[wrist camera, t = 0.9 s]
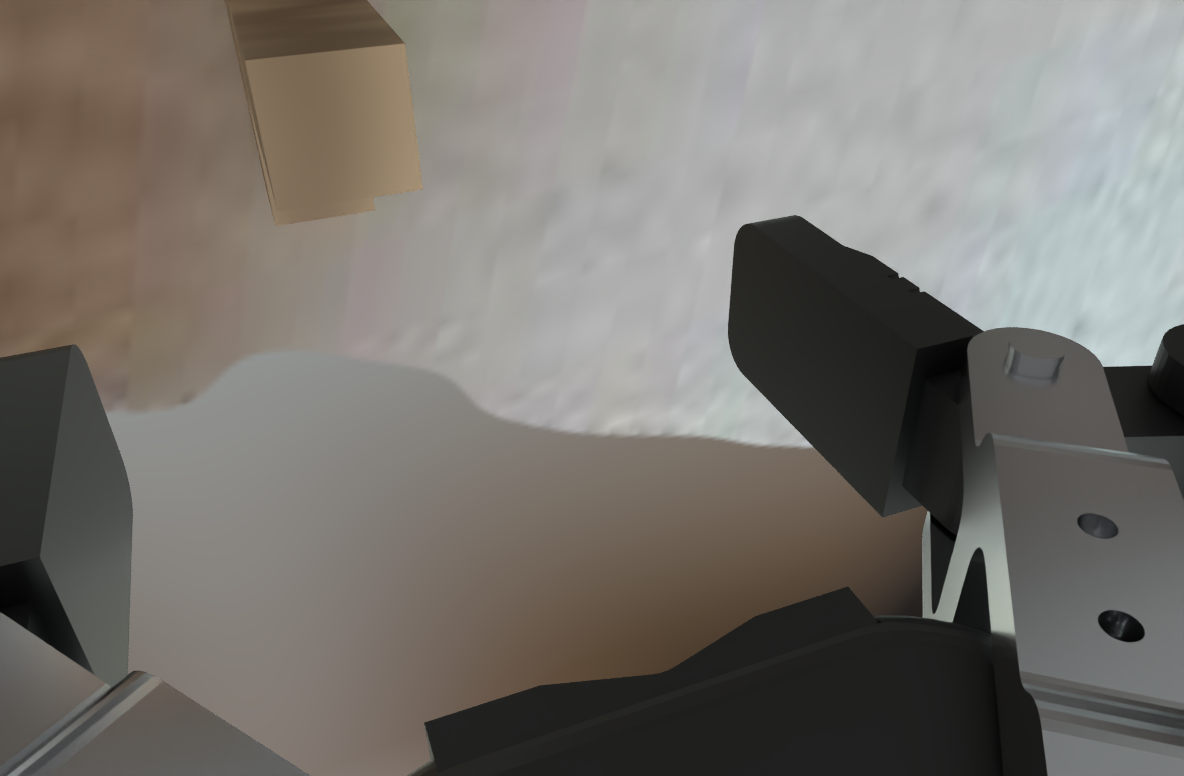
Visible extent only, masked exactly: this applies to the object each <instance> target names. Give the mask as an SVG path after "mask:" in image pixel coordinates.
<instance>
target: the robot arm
mask: <svg viewBox="0 0 1184 776" xmlns="http://www.w3.org/2000/svg"><path fill="white" fill-rule="evenodd" d="M728 338H729V345H730V349H731V353H732V356H733V358H734V361H735V363H736V365H737V367H738V368H739V370H740V371H741V372H742V374H743V375H744V376H745V377H746V378H747V379H748V380H749V381H750V382H751V383H752V384H753V385H754V386H755V387H756V388H757V389H758V390H759V391H760V392H761V393H762V394H763V395H764V396H765V397H766V398H767V399H768V400H769V401H770V403H771V404H772V405H773V406H774V407H775V408H776V409H777V410H778V411H779V412H780V413H781V414H782V415H783V416H784V417H785V418H786V419H787V420H788V421H789V422H790V423H791V424H792V425H793V426H794V427H795V428H796V429H797V430H798V431H799V432H800V433H801V434H802V435H803V436H804V437H805V438H806V439H807V441H808V442H809V443H810V444H811V445H812V446H813V447H814V448H815V449H816V450H817V451H818V452H819V453H820V454H821V455H822V456H823V457H824V458H825V459H826V460H827V461H828V462H829V463H830V464H831V465H832V466H833V467H834V468H835V469H836V470H837V471H838V472H839V473H840V474H841V475H842V476H843V477H844V479H845V480H847V482H849V484H850V485H851V486H852V487H853V488H854V489H855V490H856V491H857V492H858V493H859V494H860V495H861V496H862V497H863V498H864V499H865V500H866V501H867V502H868V503H869V504H870V505H871V506H872V507H873V508H874V509H875V510H876V511H877V512H878V513H879V514H880V515H881V516H882V517H886V516H889V515H892V514H896V513H899V512H902V511H905V510H909V509H912V508H915V507H919V506H923V507H925V508H926V509H927V510H928V513H927V517H926V521H925V525H924V529H923V536H922V538H923V539H922V541H923V542H922V548H923V549H922V551H923V618H921V617H912V616H873V615H872V614H871V613H870V612H869V611H868V610H867V609H866V607H865V606H864V605H863V604H862V603H861V601H860V600H859V599H858V598H857V597H856V595H855V594H854V593H853V592H852V591H851V590H850V588H849V587H845V588H842V589H839V590H836V591H833V592H830V593H826V594H823V595H821V596H817V597H814V598H811V599H808V600H805V601H802V602H798V603H795V604H792V605H789V606H786V607H783V608H780V609H777V610H774V611H771V612H768V613H764V614H761V615H758V616H755V617H753V618H752V619H750V620H749V621H747V622H745V623H744V624H742V625H741V626H739V627H737V628H736V629H734V630H733V631H731V632H729V633H728V634H726V635H725V636H723V637H722V638H720V639H718V640H717V641H715V642H714V643H712V644H710V645H709V646H707V647H706V648H704V649H703V650H701V651H699V652H698V653H696V654H695V655H693V656H691V657H690V658H688V659H687V660H685V661H684V662H682V663H680V664H679V665H677V666H675V667H674V668H672V669H670V670H668V671H665V672H662V673H658V674H653V675H643V676H632V677H623V678H612V679H602V680H591V681H582V682H571V683H561V684H551V685H541V686H537V687H534V688H531V689H528V690H525V691H522V692H519V693H515V694H512V695H509V696H506V697H503V698H500V699H497V700H494V701H490V702H487V703H484V704H481V705H478V706H475V707H472V708H469V709H466V710H463V711H459V712H457V713H453V714H450V715H447V716H444V717H441V718H438V719H434V720H431V721H428V722H425V723H424V724H425V730H426V736H427V741H428V747H429V752H430V758H431V761H430V762H428V763H426V764H425V765H423V766H422V767H420V768H418V769H417V770H415V771H414V772H412V773H410V774H409V775H408V776H1184V324H1183V325H1179V326H1176V327H1174V328H1172V329H1170V330H1168V331H1167V332H1166V333H1165V334H1164V336H1163V339H1162V341H1161V344H1160V347H1159V349H1158V352H1157V355H1156V357H1155V360H1154V363H1153V366H1123V367H1103V366H1102V364H1101V362H1100V361H1099V360H1098V358H1097V357H1096V356H1095V355H1094V354H1093V353H1092V352H1090V351H1089V350H1088V349H1086V348H1085V347H1083V346H1082V345H1080V344H1078V343H1076V342H1074V341H1072V340H1070V339H1067V338H1065V337H1062V336H1060V335H1056V334H1053V333H1050V332H1045V331H1041V330H1036V329H1029V328H1018V327H1006V328H996V329H992V330H987V331H985V332H984V331H982V330H981V329H979V328H978V327H977V326H975V325H974V324H972V323H971V322H969V321H968V320H966V319H965V318H963V317H962V316H960V315H959V314H957V313H956V312H954V311H953V310H951V309H950V308H948V307H947V306H945V305H944V304H943V303H941V302H940V301H938V300H937V299H935V298H934V297H932V296H931V295H929V294H928V293H926V292H920V291H919V287H917V286H916V285H914V284H913V283H911V282H910V281H909V280H907V279H906V278H904V277H902V278H899V276H898V273H897V272H895V271H894V270H892V269H891V268H889V267H888V266H886V265H885V264H883V263H882V262H880V261H879V260H877V259H876V258H875V257H873V256H871V255H868V254H865V253H862V252H859V251H857V250H854V249H851V248H848V247H845V246H843V245H841V244H840V243H838V242H837V241H835V240H834V239H833V238H831V237H830V236H828V235H827V234H825V233H824V232H822V231H821V230H820V229H818V228H817V227H815V226H814V225H812V224H811V223H809V222H808V221H806V220H805V219H804V218H802V217H800V216H796V215H794V216H788V217H783V218H777V219H772V220H766V221H761V222H755V223H749V224H745V225H743V226H742V227H741V228H740V229H739V231H738V233H737V235H736V239H735V244H734V256H733V269H732V282H731V295H730V309H729V322H728ZM132 519H133V509H132V499H131V492H130V487H129V482H128V478H127V473H126V469H125V466H124V463H123V460H122V457H121V454H120V451H119V449H118V446H117V443H116V440H115V438H114V435H113V432H112V430H111V427H110V424H109V422H108V419H107V416H106V413H105V411H104V408H103V405H102V403H101V400H100V397H99V394H98V392H97V389H96V386H95V384H94V381H93V378H92V375H91V373H90V370H89V367H88V365H87V362H86V360H85V358H84V356H83V354H82V352H81V350H80V349H79V348H78V347H77V346H76V345H69V346H63V347H58V348H52V349H47V350H41V351H35V352H30V353H24V354H19V355H13V356H8V357H2V358H0V776H310V775H309V774H307V773H306V772H304V771H302V770H301V769H299V768H298V767H296V766H295V765H293V764H292V763H290V762H289V761H287V760H285V759H284V758H282V757H281V756H279V755H278V754H276V753H274V752H273V751H271V750H270V749H268V748H267V747H265V746H264V745H262V744H261V743H259V742H257V741H256V740H254V739H253V738H251V737H250V736H248V735H246V734H245V733H243V732H242V731H240V730H239V729H237V728H236V727H234V726H232V725H231V724H229V723H228V722H226V721H225V720H223V719H222V718H220V717H219V716H217V715H215V714H214V713H212V712H211V711H209V710H207V709H206V708H205V707H203V706H201V705H200V704H198V703H197V702H195V701H193V700H192V699H190V698H189V697H187V696H186V695H184V694H183V693H181V692H179V691H178V690H176V689H175V688H173V687H172V686H170V685H169V684H167V683H166V682H164V681H162V680H161V679H159V678H157V677H156V676H154V675H151V674H149V673H147V672H143V671H133V672H131V673H130V674H127V673H128V645H129V644H128V643H129V612H130V582H131V551H132Z"/></svg>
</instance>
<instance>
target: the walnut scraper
mask: <svg viewBox="0 0 1184 776" xmlns="http://www.w3.org/2000/svg"><path fill="white" fill-rule="evenodd" d="M225 3H226V8H227V12H228V17H229V21H230V26H231V30H232V35H233V40H234V44H235V49H236V53H237V58H238V62H239V67H240V71H241V76H242V80H243V85H244V89H245V94H246V99H247V103H248V108H249V112H250V117H251V121H252V126H253V130H254V135H255V139H256V144H257V149H258V153H259V158H260V162H261V167H262V171H263V176H264V180H265V185H266V189H267V194H268V198H269V202H270V206H271V210H272V214H273V218H274V222H275V226H279V225H285V224H291V223H298V222H304V221H311V220H317V219H323V218H330V217H336V216H342V215H349V214H355V213H362V212H368V211H374V210H375V207H374V201H373V197H376V196H383V195H390V194H396V193H403V192H409V191H416V190H422V189H423V187H422V179H421V170H420V162H419V154H418V146H417V138H416V130H415V122H414V113H413V105H412V97H411V89H410V81H409V73H408V64H407V56H406V48H405V43H404V42H403V41H402V40H401V38H400V37H399V36H398V35H397V34H396V33H395V32H394V31H393V29H392V28H391V27H390V26H389V25H388V24H387V23H386V22H385V20H384V19H383V18H382V17H381V16H380V15H379V14H378V13H377V11H376V10H375V9H374V8H373V7H372V6H371V5H370V4H369V2H368V1H367V0H225Z"/></svg>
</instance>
